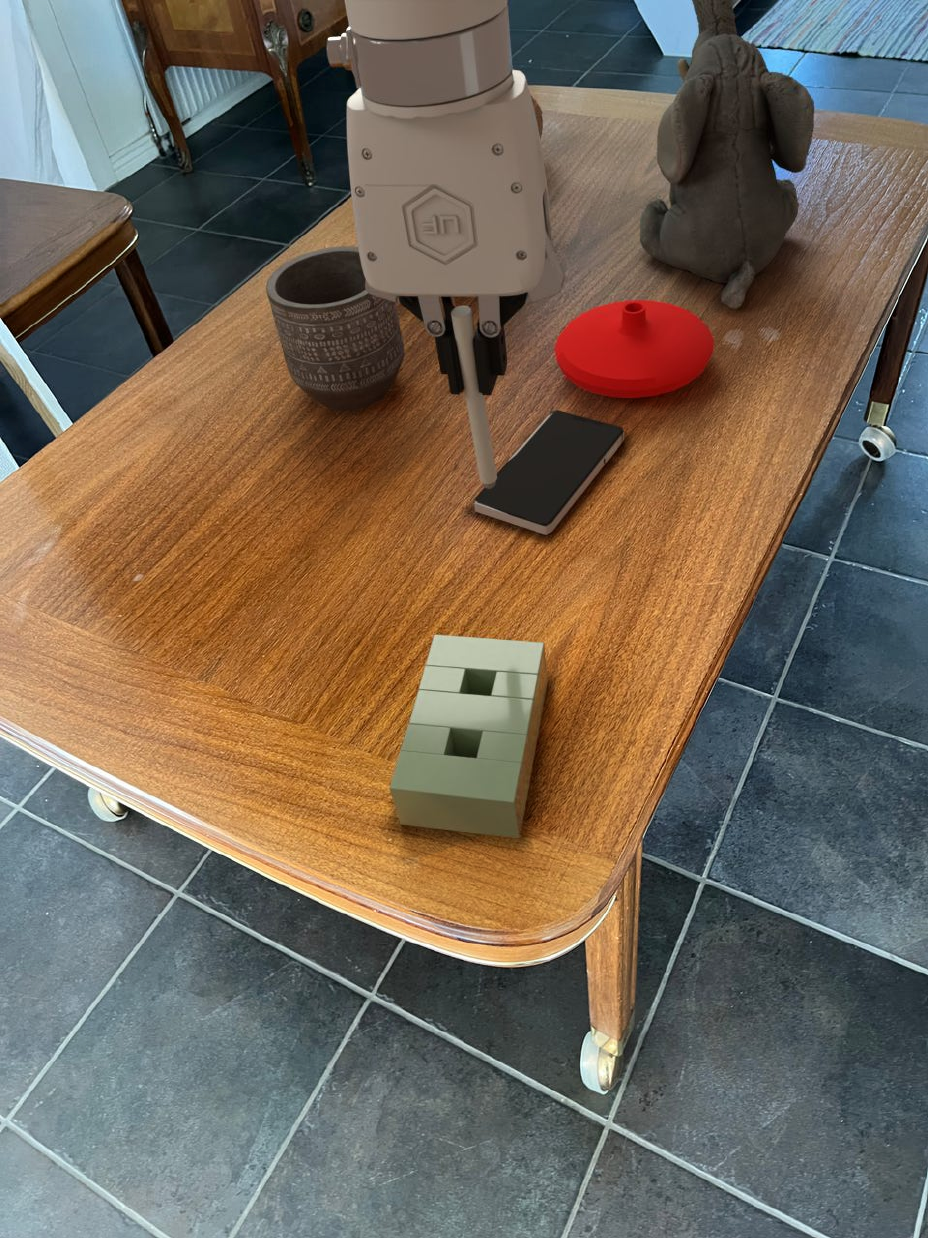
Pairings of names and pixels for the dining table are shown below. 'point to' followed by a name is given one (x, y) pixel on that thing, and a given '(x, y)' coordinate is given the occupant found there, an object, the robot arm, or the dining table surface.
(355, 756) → the dining table surface
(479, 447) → the grey cylindrical rod
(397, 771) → the pen holder
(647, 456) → the dining table surface
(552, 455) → the smartphone
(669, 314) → the red disc with nozzle
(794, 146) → the stuffed elephant
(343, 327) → the planter
